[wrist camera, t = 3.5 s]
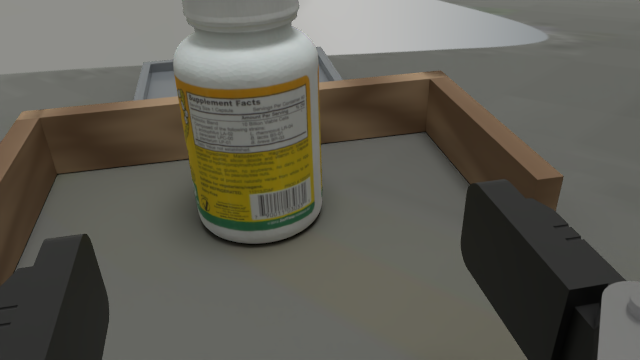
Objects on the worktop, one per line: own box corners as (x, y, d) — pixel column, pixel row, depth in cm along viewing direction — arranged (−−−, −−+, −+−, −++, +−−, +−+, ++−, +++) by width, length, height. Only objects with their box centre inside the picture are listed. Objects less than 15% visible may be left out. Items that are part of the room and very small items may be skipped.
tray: (321, 68, 39) (320, 46, 38) (351, 119, 31) (351, 93, 30) (147, 85, 37) (143, 62, 36) (135, 143, 29) (129, 116, 29)
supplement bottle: (294, 259, 21) (276, -3, 16) (173, 233, 22) (123, -11, 17) (340, 188, 25) (337, -35, 20) (236, 170, 27) (209, -39, 22)
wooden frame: (436, 121, 31) (440, 70, 29) (548, 243, 21) (563, 176, 19) (40, 166, 28) (22, 111, 26) (-45, 334, 18) (-82, 262, 16)
